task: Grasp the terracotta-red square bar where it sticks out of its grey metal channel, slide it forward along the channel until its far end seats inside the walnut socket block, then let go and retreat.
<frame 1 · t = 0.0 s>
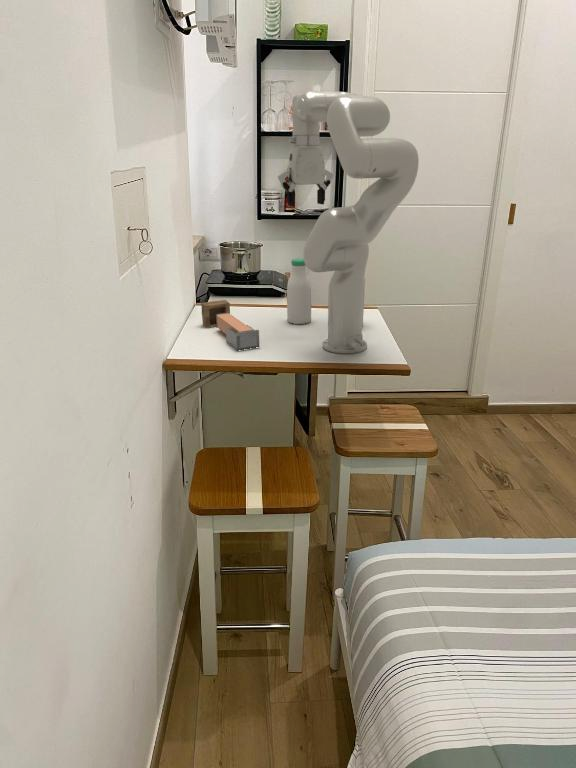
hand: (306, 204, 178), 37 cm above the table, tool pointing down, fingers open, 9 cm apart
channel: (242, 345, 175), on the table
milk bottle: (299, 322, 196), on the table
socket: (216, 324, 194), on the table
skincare box: (348, 325, 192), on the table
bar: (234, 328, 179), point 3 cm above the table, slide at 0.0 cm
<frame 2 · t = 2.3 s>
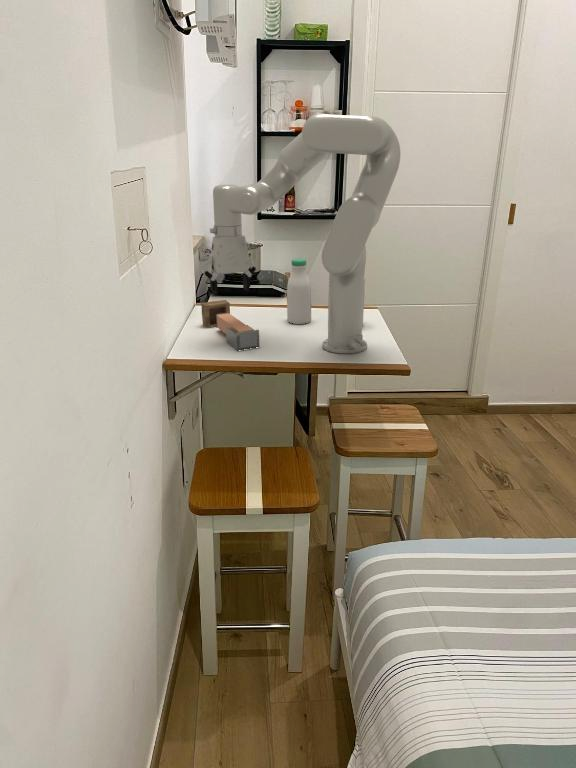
hand: (230, 291, 176), 14 cm above the table, tool pointing down, fingers open, 9 cm apart
nothing on the table moved.
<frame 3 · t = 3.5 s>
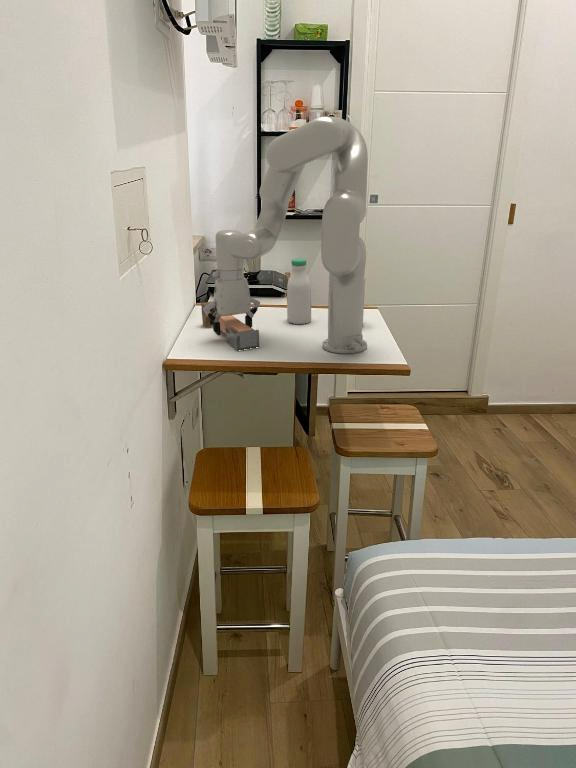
hand: (233, 331, 180), 2 cm above the table, tool pointing down, fingers open, 9 cm apart
nothing on the table moved.
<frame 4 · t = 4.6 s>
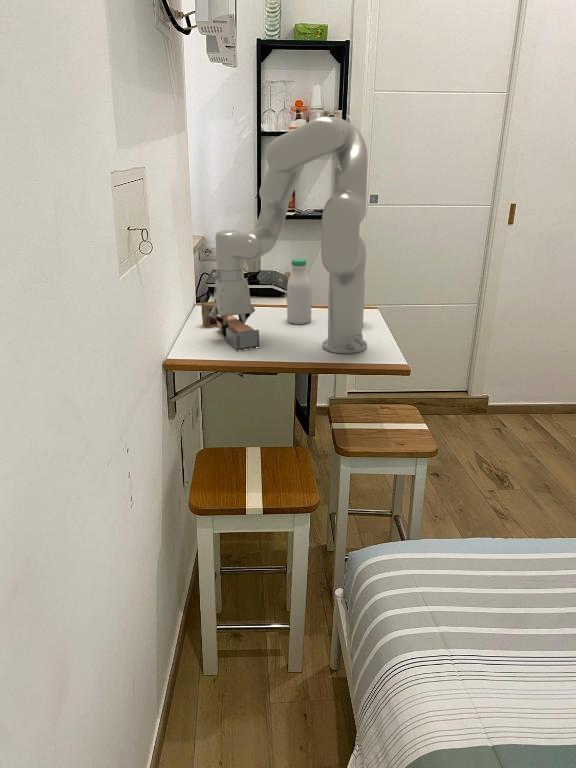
hand: (233, 335, 181), 1 cm above the table, tool pointing down, fingers closed on bar, 4 cm apart
bar: (234, 328, 179), point 3 cm above the table, slide at 0.0 cm, touching gripper
everything else where it was.
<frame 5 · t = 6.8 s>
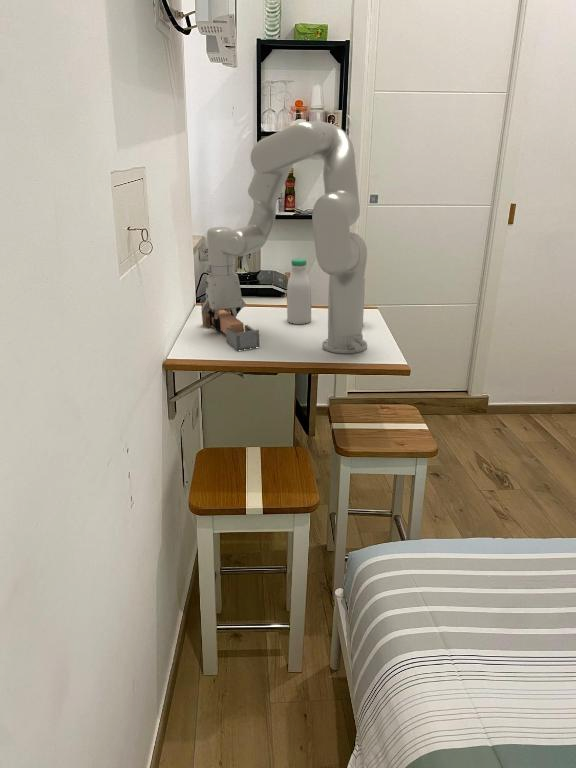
hand: (225, 328, 187), 1 cm above the table, tool pointing down, fingers closed on bar, 4 cm apart
bar: (225, 322, 185), point 3 cm above the table, slide at 7.5 cm, touching gripper
everything else where it was.
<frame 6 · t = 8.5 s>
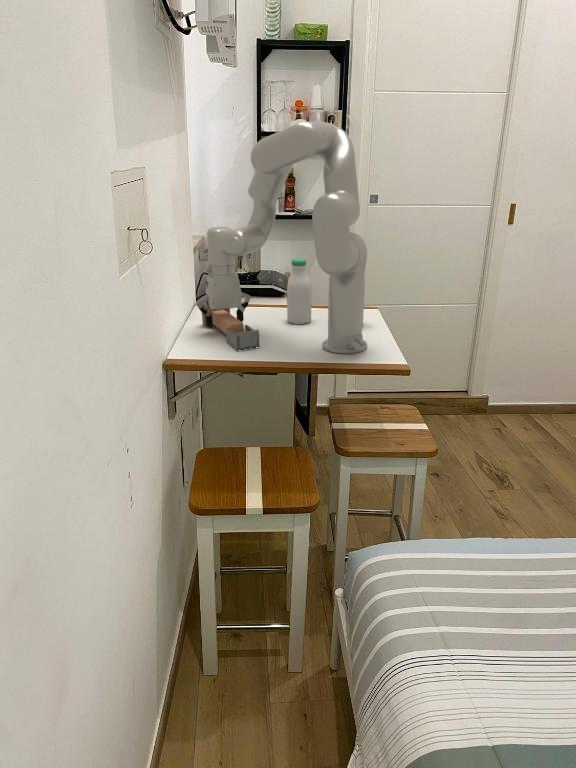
hand: (225, 325, 187), 2 cm above the table, tool pointing down, fingers open, 9 cm apart
bar: (225, 322, 185), point 3 cm above the table, slide at 7.5 cm
everything else where it was.
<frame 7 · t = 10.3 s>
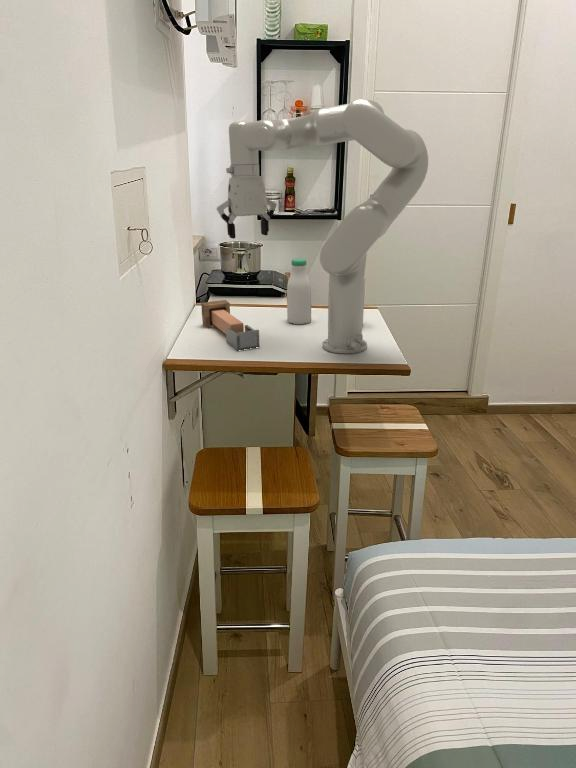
hand: (248, 236, 170), 30 cm above the table, tool pointing down, fingers open, 9 cm apart
nothing on the table moved.
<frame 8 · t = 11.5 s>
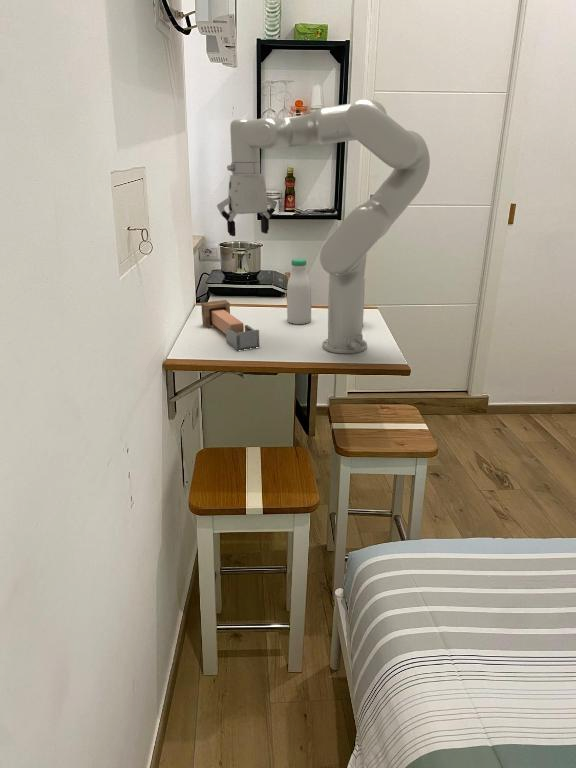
hand: (248, 234, 170), 30 cm above the table, tool pointing down, fingers open, 9 cm apart
nothing on the table moved.
at the end: bar slide at 7.5 cm; the gripper is holding nothing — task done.
